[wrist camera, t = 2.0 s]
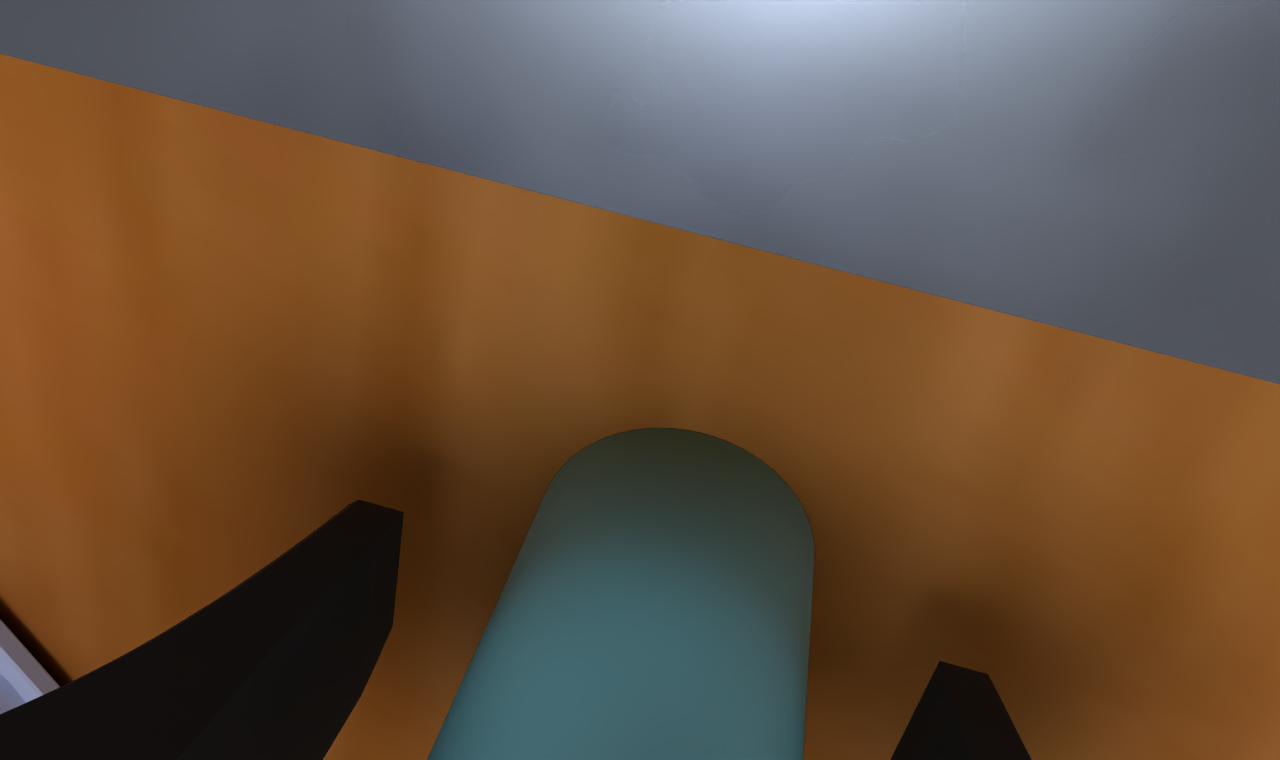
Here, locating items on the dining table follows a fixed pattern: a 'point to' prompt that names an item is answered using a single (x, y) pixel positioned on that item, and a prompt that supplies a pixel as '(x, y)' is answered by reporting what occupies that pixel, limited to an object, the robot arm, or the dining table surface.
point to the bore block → (801, 130)
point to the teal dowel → (648, 614)
